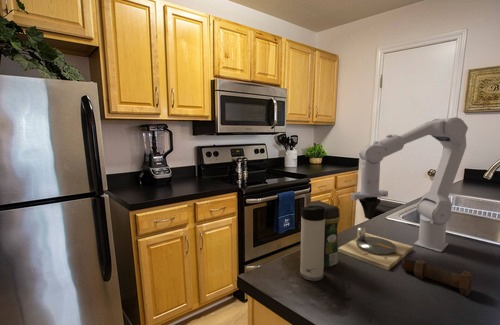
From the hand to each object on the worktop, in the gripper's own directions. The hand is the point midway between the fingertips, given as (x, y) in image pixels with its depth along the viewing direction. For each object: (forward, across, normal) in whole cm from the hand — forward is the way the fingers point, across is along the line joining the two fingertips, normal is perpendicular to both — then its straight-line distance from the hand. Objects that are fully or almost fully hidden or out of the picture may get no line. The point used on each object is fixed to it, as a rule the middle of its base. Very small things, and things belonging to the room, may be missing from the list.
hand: (368, 218), depth 91 cm
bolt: (+10, 0, -24) cm, 26 cm away
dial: (+8, -1, -5) cm, 9 cm away
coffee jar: (+10, -22, -5) cm, 25 cm away
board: (+10, -1, -5) cm, 11 cm away
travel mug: (+10, -30, -11) cm, 33 cm away
